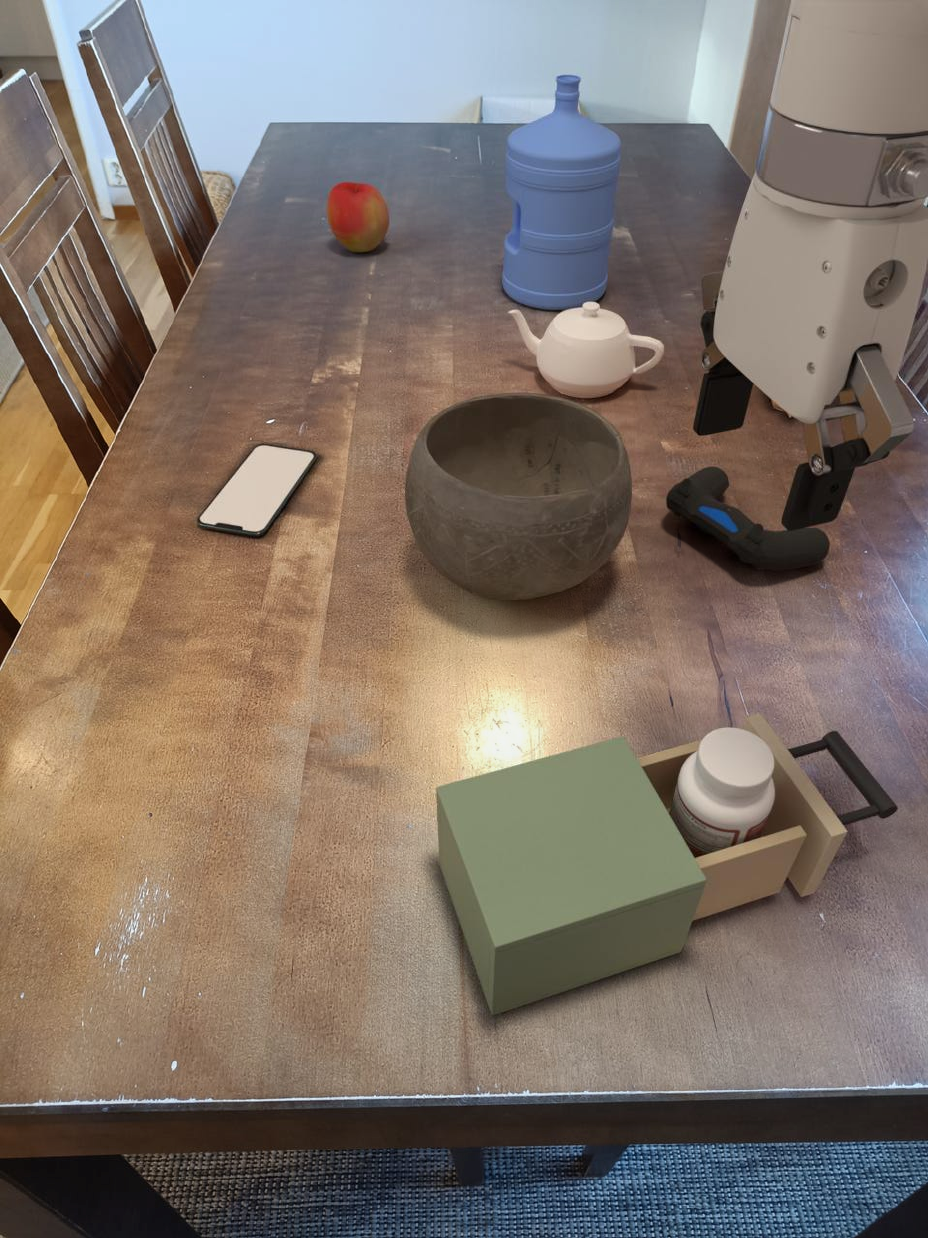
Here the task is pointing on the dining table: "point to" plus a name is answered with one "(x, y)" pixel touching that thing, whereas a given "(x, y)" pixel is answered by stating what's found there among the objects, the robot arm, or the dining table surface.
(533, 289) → the water jug
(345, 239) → the apple
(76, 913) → the dining table surface
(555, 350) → the teapot
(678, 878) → the cabinet
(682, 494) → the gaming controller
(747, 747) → the pill bottle
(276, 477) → the smartphone
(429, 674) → the dining table surface
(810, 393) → the robot arm
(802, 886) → the drawer
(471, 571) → the bowl
